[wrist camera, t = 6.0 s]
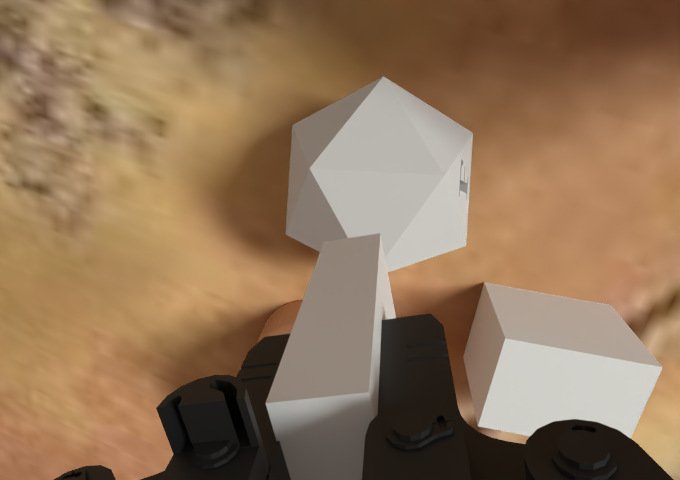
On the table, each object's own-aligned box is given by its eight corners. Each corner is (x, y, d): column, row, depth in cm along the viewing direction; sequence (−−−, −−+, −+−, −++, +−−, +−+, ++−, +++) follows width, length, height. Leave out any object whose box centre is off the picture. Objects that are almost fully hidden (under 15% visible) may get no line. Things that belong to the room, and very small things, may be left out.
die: (394, 269, 30) (522, 287, 21) (248, 263, 26) (333, 283, 17) (403, 127, 30) (535, 87, 21) (259, 100, 26) (349, 37, 17)
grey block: (462, 356, 30) (477, 426, 25) (484, 281, 29) (505, 338, 23) (581, 378, 30) (623, 454, 25) (610, 304, 28) (662, 367, 23)
